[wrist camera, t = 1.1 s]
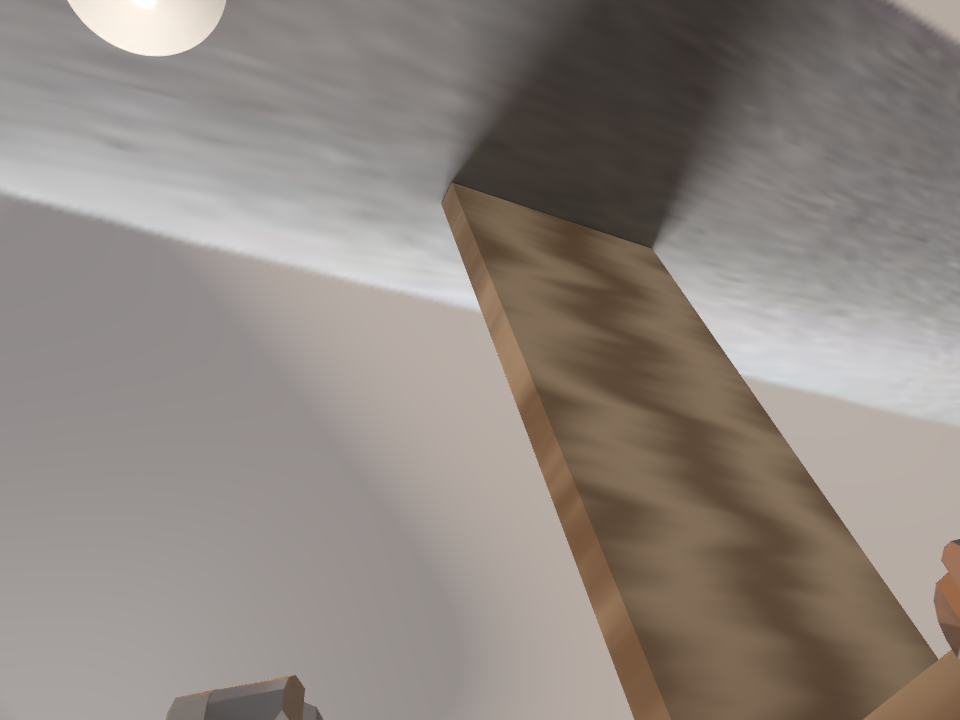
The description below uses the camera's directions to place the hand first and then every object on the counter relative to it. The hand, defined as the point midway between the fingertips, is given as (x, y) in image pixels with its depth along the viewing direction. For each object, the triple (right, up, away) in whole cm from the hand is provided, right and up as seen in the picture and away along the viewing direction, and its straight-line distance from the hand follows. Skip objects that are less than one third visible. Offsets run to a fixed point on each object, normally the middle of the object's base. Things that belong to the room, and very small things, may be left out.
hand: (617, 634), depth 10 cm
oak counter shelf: (+4, +14, +29) cm, 32 cm away
